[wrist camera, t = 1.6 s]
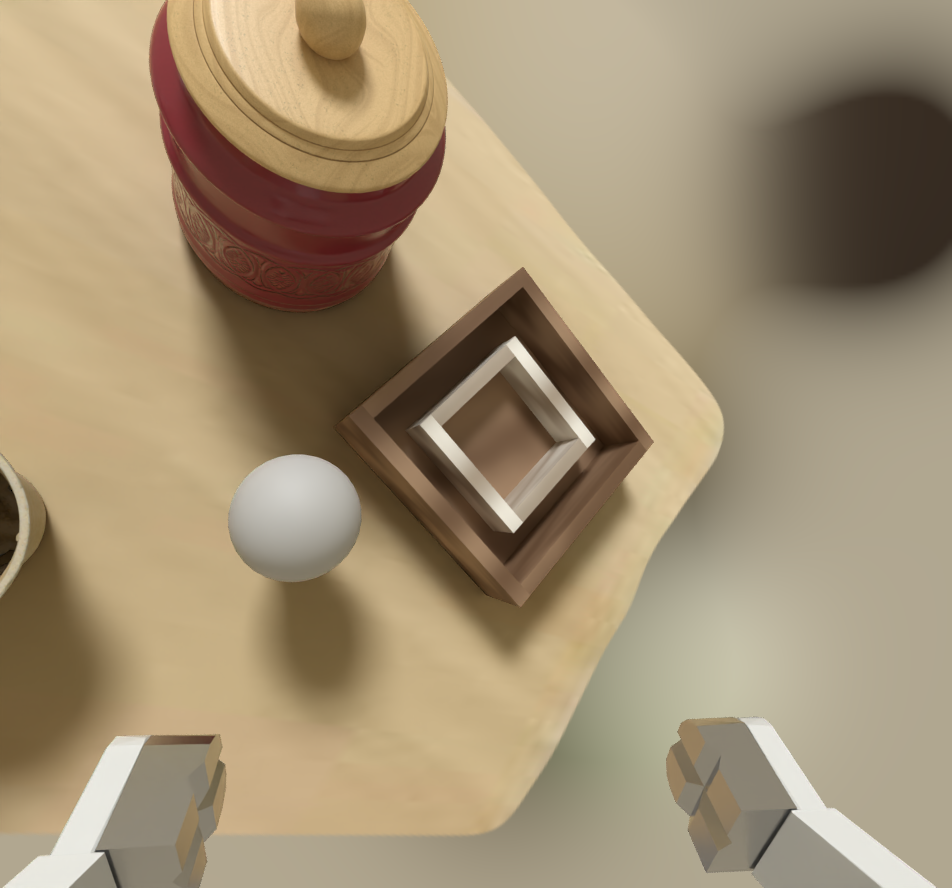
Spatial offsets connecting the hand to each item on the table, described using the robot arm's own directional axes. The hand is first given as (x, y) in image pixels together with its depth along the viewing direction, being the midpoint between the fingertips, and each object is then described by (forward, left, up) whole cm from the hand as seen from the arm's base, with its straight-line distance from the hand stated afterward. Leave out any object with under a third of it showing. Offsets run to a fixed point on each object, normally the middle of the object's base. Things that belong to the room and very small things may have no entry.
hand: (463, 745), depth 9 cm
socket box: (+3, +16, -26) cm, 31 cm away
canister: (-17, +15, -26) cm, 35 cm away
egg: (-3, +2, -26) cm, 27 cm away
